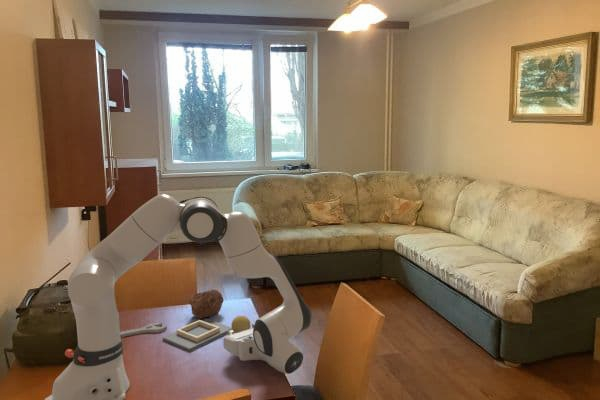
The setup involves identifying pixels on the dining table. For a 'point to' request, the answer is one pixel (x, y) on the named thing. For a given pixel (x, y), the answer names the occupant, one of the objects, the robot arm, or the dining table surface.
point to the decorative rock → (206, 303)
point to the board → (197, 334)
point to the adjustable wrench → (145, 329)
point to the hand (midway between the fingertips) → (241, 328)
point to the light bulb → (240, 324)
